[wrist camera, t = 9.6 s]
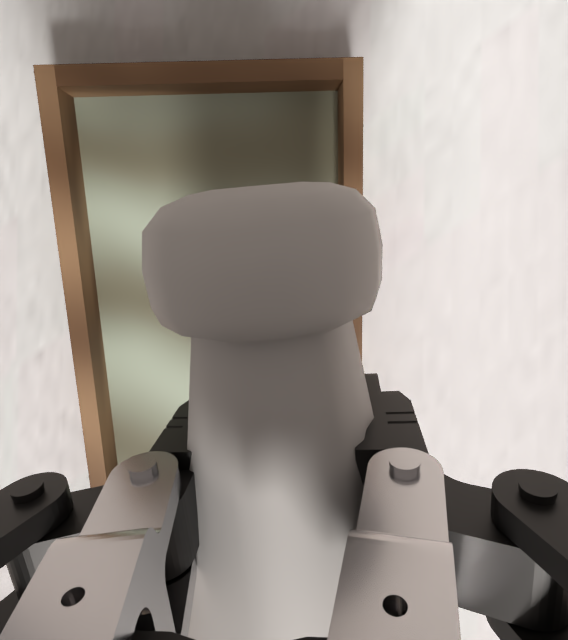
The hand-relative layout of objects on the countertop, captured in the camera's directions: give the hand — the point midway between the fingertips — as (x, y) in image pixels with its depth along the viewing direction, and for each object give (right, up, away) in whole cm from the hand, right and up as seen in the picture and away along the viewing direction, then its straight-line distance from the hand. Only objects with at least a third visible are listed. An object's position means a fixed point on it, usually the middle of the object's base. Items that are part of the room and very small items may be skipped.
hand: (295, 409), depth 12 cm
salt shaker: (0, -8, 0) cm, 8 cm away
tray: (-3, +3, +7) cm, 9 cm away
